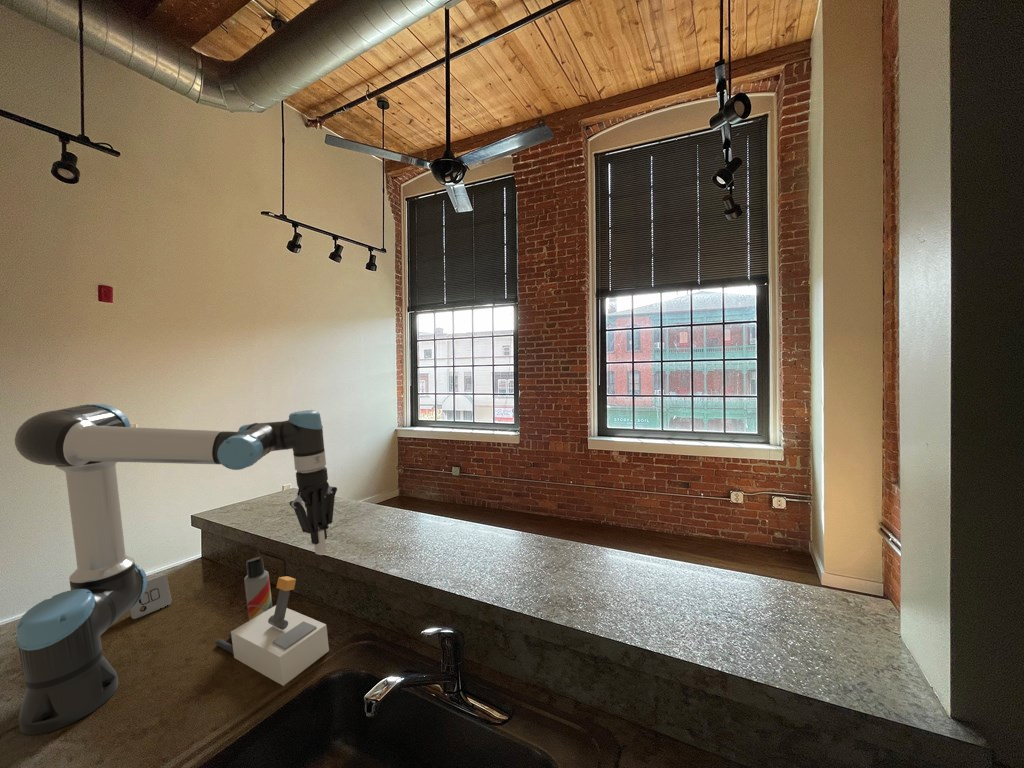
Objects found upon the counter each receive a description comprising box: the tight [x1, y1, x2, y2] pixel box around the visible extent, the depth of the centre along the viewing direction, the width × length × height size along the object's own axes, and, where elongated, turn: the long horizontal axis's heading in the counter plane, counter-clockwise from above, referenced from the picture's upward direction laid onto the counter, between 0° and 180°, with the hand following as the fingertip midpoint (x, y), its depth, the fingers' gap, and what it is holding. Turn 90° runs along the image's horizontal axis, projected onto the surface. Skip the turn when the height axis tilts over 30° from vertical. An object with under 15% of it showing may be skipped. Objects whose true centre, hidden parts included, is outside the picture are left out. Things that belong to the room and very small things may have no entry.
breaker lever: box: [268, 575, 297, 630], centre depth 105 cm, size 5×2×11 cm, turn 61°
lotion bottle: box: [243, 555, 273, 621], centre depth 115 cm, size 6×6×20 cm
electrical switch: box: [130, 574, 173, 620], centre depth 127 cm, size 9×5×9 cm, turn 141°
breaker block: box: [230, 604, 330, 687], centre depth 105 cm, size 20×12×7 cm, turn 61°
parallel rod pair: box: [215, 631, 234, 655], centre depth 109 cm, size 9×4×1 cm, turn 61°
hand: (320, 553), depth 114 cm, fingers closed
